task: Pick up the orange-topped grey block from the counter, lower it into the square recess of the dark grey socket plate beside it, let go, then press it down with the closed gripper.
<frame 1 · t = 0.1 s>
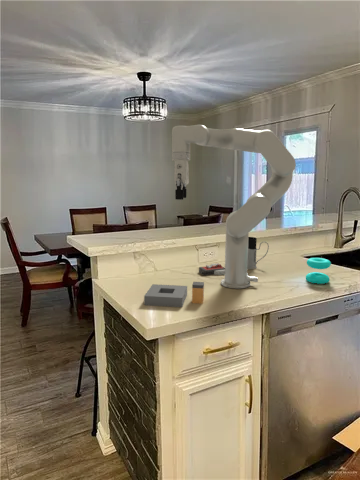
hand: (181, 198, 155), 37 cm above the countertop, tool pointing down, fingers open, 9 cm apart
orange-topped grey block: (198, 301, 138), on the countertop
socket plate: (166, 299, 140), on the countertop
walkie-talkie: (218, 273, 177), on the countertop
donuts: (317, 281, 163), on the countertop
grey and black mug: (253, 267, 187), on the countertop
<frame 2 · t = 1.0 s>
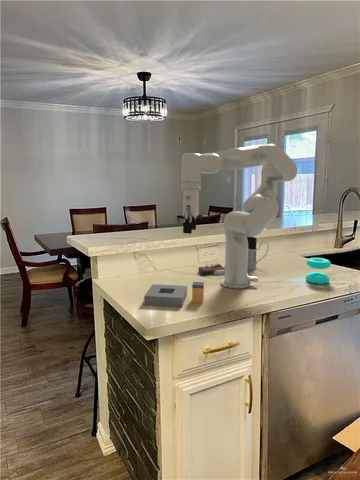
hand: (189, 231, 142), 25 cm above the countertop, tool pointing down, fingers open, 9 cm apart
nothing on the countertop moved.
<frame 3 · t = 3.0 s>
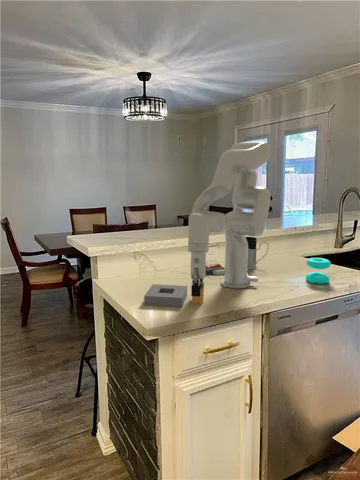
hand: (197, 292, 137), 4 cm above the countertop, tool pointing down, fingers open, 9 cm apart
nothing on the countertop moved.
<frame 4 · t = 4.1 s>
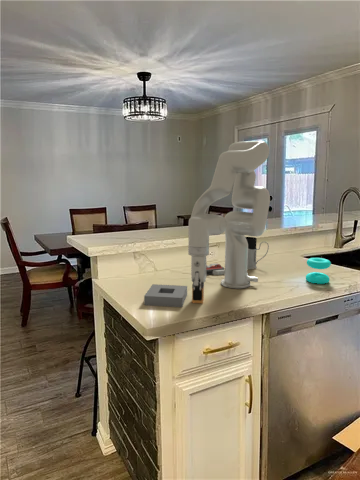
hand: (198, 297, 138), 1 cm above the countertop, tool pointing down, fingers closed on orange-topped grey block, 4 cm apart
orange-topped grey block: (198, 301, 138), on the countertop, touching gripper
everything else where it was.
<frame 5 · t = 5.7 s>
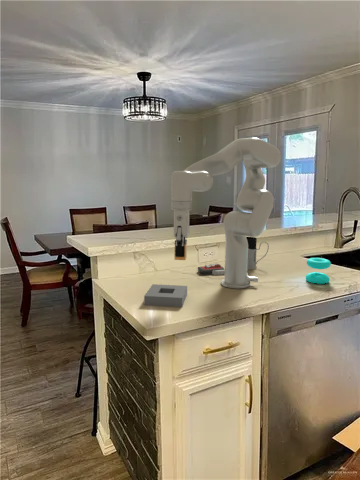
hand: (180, 254, 136), 18 cm above the countertop, tool pointing down, fingers closed on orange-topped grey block, 4 cm apart
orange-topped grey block: (180, 258, 136), point 16 cm above the countertop, touching gripper
everything else where it was.
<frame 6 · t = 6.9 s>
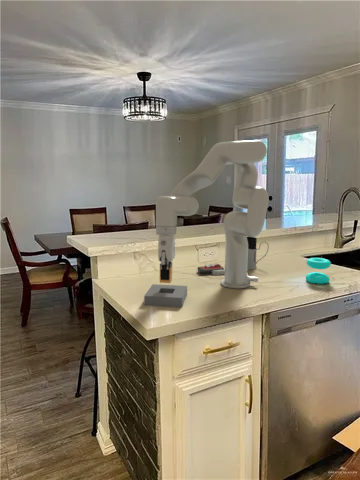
hand: (166, 277, 138), 9 cm above the countertop, tool pointing down, fingers closed on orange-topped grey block, 4 cm apart
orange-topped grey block: (165, 281, 139), point 7 cm above the countertop, touching gripper
everything else where it was.
when the fingers open (4 cm above the countertop, at t = 8.3 s): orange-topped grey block drops 2 cm, resting on socket plate.
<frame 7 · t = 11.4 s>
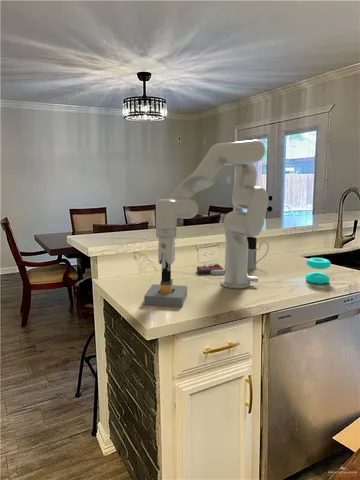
hand: (166, 280, 139), 8 cm above the countertop, tool pointing down, fingers closed
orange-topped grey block: (166, 298, 140), resting on socket plate, touching gripper
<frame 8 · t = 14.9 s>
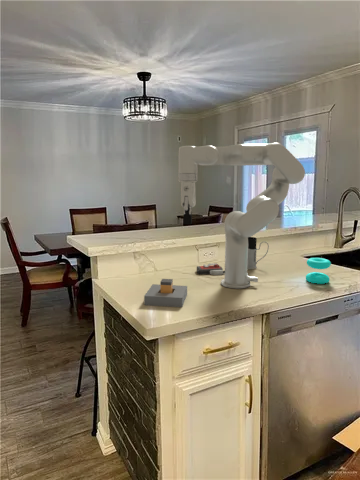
hand: (187, 223, 149), 27 cm above the countertop, tool pointing down, fingers closed
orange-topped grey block: (166, 298, 140), resting on socket plate
at the end: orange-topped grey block 0.1 cm off-centre on the socket plate, point 0.5 cm above the socket plate's base; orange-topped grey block tilted 0°; the gripper is holding nothing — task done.
